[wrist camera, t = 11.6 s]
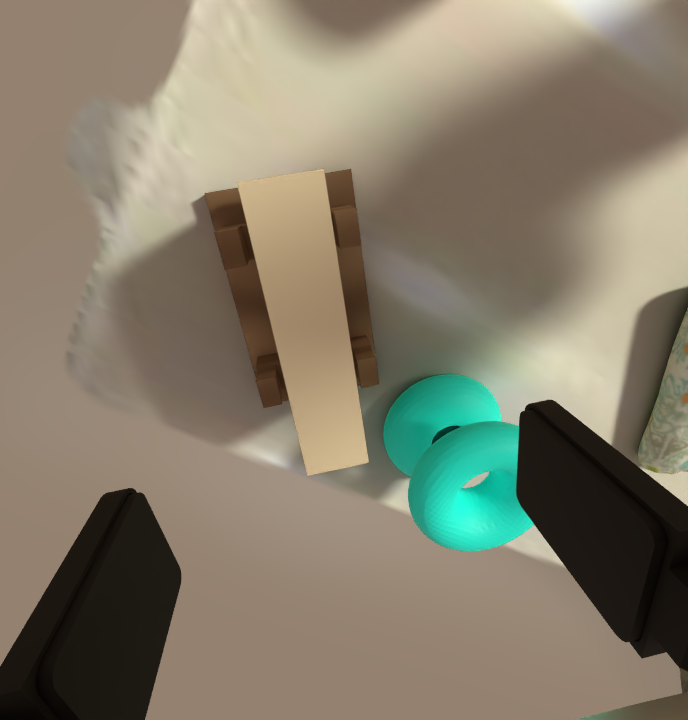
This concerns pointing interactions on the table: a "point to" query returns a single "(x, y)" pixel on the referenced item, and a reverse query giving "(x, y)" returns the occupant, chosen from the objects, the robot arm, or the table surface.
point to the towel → (669, 414)
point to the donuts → (457, 463)
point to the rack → (251, 296)
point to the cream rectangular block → (307, 314)
